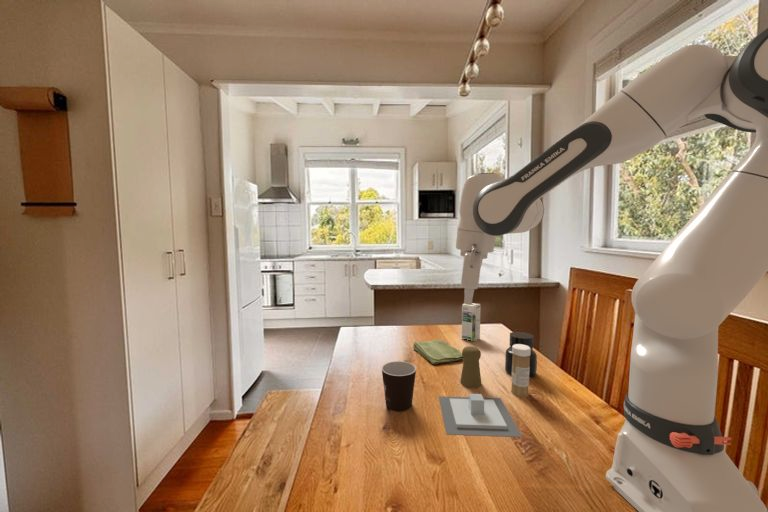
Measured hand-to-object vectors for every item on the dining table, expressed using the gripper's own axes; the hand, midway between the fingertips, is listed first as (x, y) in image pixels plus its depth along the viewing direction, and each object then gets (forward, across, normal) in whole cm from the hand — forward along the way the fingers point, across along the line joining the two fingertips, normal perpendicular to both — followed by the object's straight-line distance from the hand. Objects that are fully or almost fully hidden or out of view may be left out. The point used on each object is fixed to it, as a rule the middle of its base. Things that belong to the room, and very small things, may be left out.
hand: (468, 298), depth 80 cm
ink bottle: (+27, +23, -18) cm, 40 cm away
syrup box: (+30, +51, -2) cm, 59 cm away
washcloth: (+30, +31, +9) cm, 45 cm away
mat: (+27, -5, -5) cm, 28 cm away
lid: (+26, -5, -5) cm, 27 cm away
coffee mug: (+29, -5, +14) cm, 32 cm away
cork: (+28, +11, -3) cm, 30 cm away
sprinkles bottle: (+27, +9, -16) cm, 32 cm away
